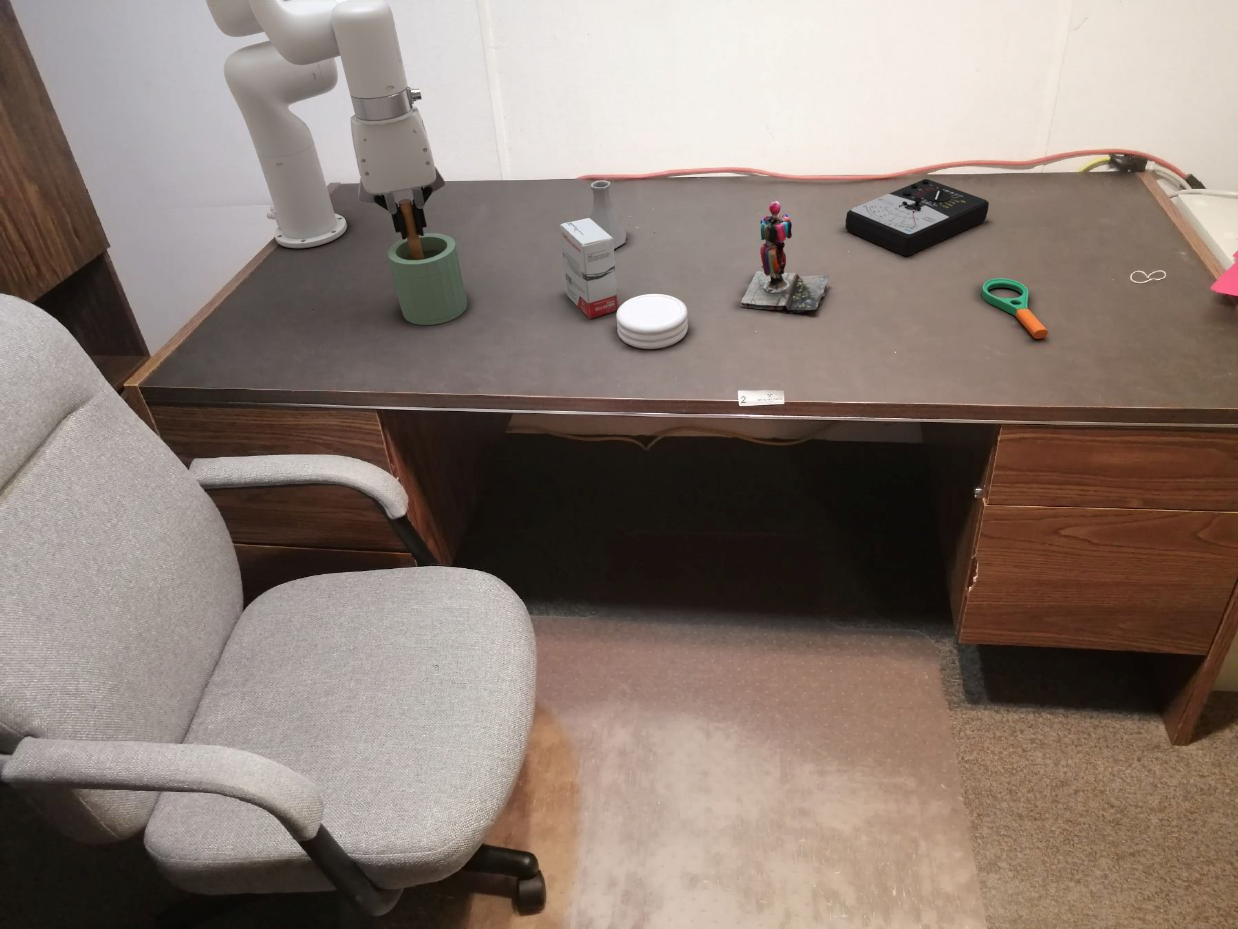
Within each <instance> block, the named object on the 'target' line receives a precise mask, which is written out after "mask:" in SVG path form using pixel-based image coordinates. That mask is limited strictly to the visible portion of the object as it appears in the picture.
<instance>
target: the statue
mask: <svg viewBox="0 0 1238 929" xmlns="http://www.w3.org/2000/svg"><path fill="white" fill-rule="evenodd" d="M781 209H782V208H781V204H780V202H779V201H778V200H775V201H772V202H771V203H770V204H769V206H768V210H769V212H770V215H766V216H764V217H763V218H761V219H760V221H759V222H760V240H761V241H765V242H764V243H763V244H761V246H760V248H759V252H760V259H761V263H762V265H761V268H762V270H763V271H760V270H756V272H755V274H754V276H753V278H752V279H751V282H750V283H749V286H748V287H747V289H746V291H745V293H744V295H743V297H742V299H741V300H740V303H741V305H740V308H746V309H748V308H752V309H755V310H763V309H765V310H770V311H771V310H775V311H781V310H783V309H784V307H786V309H787V314H795V313H796V314H799V313H804V312H806V311H810V313H812V312H813V310H817V308H818V306H819V304H821V303H822V302H823V301H822V300H821V298H822V297H825V294H826V292H824V291H825V288H826V286H828V281H829V278H830V275H829V274H827V275H826V274H820V275H819V274H818V275H805V276H804V275H803V276H800V275H799V274H798V272H785V268H786V265H787V255H786V253H785V251H784V248H785V246H786V244H785V241H787V240H788V239H789V240H790V239H791V238H792V237H793V234H792V226H793V223H792V221H791V219H790V218H789V216H788V214H787V213H785V214H783V215H782V216H781V214H780V212H781Z"/></svg>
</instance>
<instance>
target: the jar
mask: <svg viewBox="0 0 1238 929" xmlns="http://www.w3.org/2000/svg"><path fill="white" fill-rule="evenodd" d="M419 238H420V242H421V246H422V251H423V255H424V259H423V260H412V258H411V254H410V250H409V245H408V241H407V238H406V239H404V240H403V239H402V238H401V239H399V240H398V241H396V242H395V243H394V244H392V245H391V246H390V247H389V249H388V250H387V258H388V263H389V267H390V270H391V274H392V279H393V282H394V287H395V290H396V291H395V292H396V294H397V298H398V302H399V306H400V309H401V311H402V312H401V313H402V316H403V318H404V319H405V320H406V321H407V322H409V323H411V324H414V325H418V326H434V325H441V324H444V323H447V322H450V321H452V320H455V319H456V318H458V317H459V316H461V315H462V314H463V313H465V311H466V309H467V306H468V301H467V294H466V289H465V283H464V279H463V275H462V268H461V264H460V259H459V254H458V250H457V249H458V248H457V245H456V241H455V240H454V239H453V237H451V236H448V235H446V234H443V233H437V232H434V233H433V232H432V233H431V232H430V233H429V232H428V233H424V236H419Z"/></svg>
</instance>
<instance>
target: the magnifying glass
mask: <svg viewBox="0 0 1238 929" xmlns="http://www.w3.org/2000/svg"><path fill="white" fill-rule="evenodd" d="M981 287H982V288H981V297H982V299H983V300H984V301H985V302H987V303H988V304H990V305H992V306H994V307H996V308H998V309H1000V310H1002V311H1004V312H1006V313H1009V314H1010V315H1012V316H1014V317H1015V318H1016V319H1018V321H1019V322H1020V323H1021V324H1022V326H1024V328H1025V329H1026V330H1027V331H1028V333H1029V334H1031V335H1032V337H1033V338H1034V339H1044V338H1046V337H1047V336H1048V333H1049V330H1048V329H1047V328H1046V326H1044V325H1043V324H1042V322H1041V321H1040V320H1039V319H1038V318H1037V316H1035V315H1034V313H1032V312H1031V310H1030V309H1029V307H1028V303H1029V302H1028V301H1029V294H1030V293H1029V289H1028V287H1026V285H1024V284H1023V283H1021V282H1020V281H1017V280H1014V279H1010V278H1002V277H1001V278H998V277H997V278H991V279H988V280H987V281H985V282H984V283H983V284H982V286H981ZM997 288H999V289H1000V288H1005V289H1006V288H1007V289H1011V290H1014V291H1017V292H1019V293H1020V296H1018V297H1012V298H1009V297H1008V298H1007V297H1001V296H1000V297H999V296H996V295H994V294H991V293H990V292H989V291H990V290H992V289H997Z"/></svg>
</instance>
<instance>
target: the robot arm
mask: <svg viewBox="0 0 1238 929" xmlns="http://www.w3.org/2000/svg"><path fill="white" fill-rule="evenodd" d="M205 3H206V5H207V7H208V10H209V12H210V15H211V17H212V19H213V21H214V23H215V24H216V26H217V28H218V29H219V31H221V32H222V34H224V35H226V36H228V37H231V38H232V37H233V38H241V37H247V36H253V35H258V34H260V33H264V34H265V35H266V37H267V39H268V40H266V41H262V42H259V43H255V44H251V45H246V46H244V47H241V48H238V49H237V50H235V51H233V52H232V53H231V54H229V56H227V58H225V59H226V60H225V61H224V64H223V74H224V79H225V82H226V84H227V87H228V89H229V91H230V93H231V94H232V97H233V99H234V100H235V103H236V104H237V107H238V109H239V111H240V112H241V115H242V118H243V120H244V122H245V125H246V128H247V130H248V132H249V135H250V137H251V141H252V143H253V144H252V145H253V148H254V149H255V150H254V151H255V152H256V156H257V159H258V162H259V165H260V167H261V168H260V169H261V170H262V171H261V172H262V173H263V174H262V175H263V176H264V180H265V183H266V186H267V188H268V192H269V195H270V198H271V201H272V204H270V207H269V208H270V210H268V211H267V212H266V214H265V215H266V218H267V219H269V220H274V221H275V222H276V225H277V228H275V230H274V233H273V234H274V235H273V236H274V239H275V242H276V243H277V244H278V245H279V246H282V247H284V248H289V249H307V248H314V247H318V246H321V245H325V244H328V243H330V242H333V241H335V240H336V239H338V238H339V237H341V236H342V235H344V233H345V232H346V231H347V228H348V224H347V221H346V219H345V217H344V216H342V215H341V214H338V213H335V210H334V206H333V204H332V200H331V197H330V192H329V190H328V186H327V182H326V180H325V176H324V172H323V168H322V165H321V161H320V158H319V155H318V151H317V148H316V144H315V141H314V137H313V134H312V132H311V129H310V128H309V126H308V124H307V123H306V122H305V121H304V120H303V119H301V118H300V117H299V116H297V115H296V114H294V113H293V112H292V111H291V110H290V109H289V107H290V106H291V105H293V104H296V103H298V102H302V101H305V100H308V99H312V98H315V97H319V96H322V95H325V94H327V93H330V92H331V91H332V90H334V89H335V88H336V86H337V85H338V81H339V80H338V79H339V71H338V65H337V63H336V58H337V57H338V58H339V57H340V60H341V64H342V68H343V72H344V76H345V79H346V84H347V88H348V92H349V95H350V99H351V103H352V104H351V105H352V108H353V112H354V114H353V115H352V116H351V117H350V131H351V138H352V145H353V150H354V154H355V155H354V156H355V159H356V164H357V169H358V173H359V176H360V180H359V185H358V192H357V195H358V200H359V201H361V202H365V203H371V204H376V205H378V206H379V207H381V208H382V209H384V210H386V211H387V212H388V213H389V214H390V216H391V219H392V225H393V227H394V231H395V234H397V233H400V235H401V240H402V239H403V240H404V239H406V238H407V234H406V230H405V226H404V222H403V217H402V213H401V211H400V207H399V203H398V202H396V200H395V197H394V196H395V195H394V193H395V192H401V191H406V190H411V193H412V197H413V199H411V202H412V207H413V212H414V216H415V221H416V225H417V230H418V234H419V236H424V234H425V233H424V232H425V231H424V229H425V228H428V227H427V225H428V223H427V220H426V216H425V211H424V208H425V204H426V203H427V202H428V200H429V198H430V197H431V196H432V194H433V193H434V192H437V191H438V190H440V189H441V188H443V187H444V186H446V182H445V179H444V177H443V176H442V174H441V173H440V171H439V170H438V168H437V167H436V165H435V161H434V158H433V153H432V149H431V145H430V141H429V138H428V134H427V130H426V127H425V123H424V121H423V118H422V116H421V113H420V111H419V108H418V107H417V106H415V105H414V104H415V102H417V101H418V100H419V101H420V100H422V93H421V89H420V88H411V87H410V86H408V81H407V76H406V70H405V67H404V61H403V56H402V52H401V47H400V42H399V37H398V32H397V28H396V24H395V23H396V22H395V19H394V14H393V11H392V9H391V6H390V4H388V2H386V0H205Z"/></svg>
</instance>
